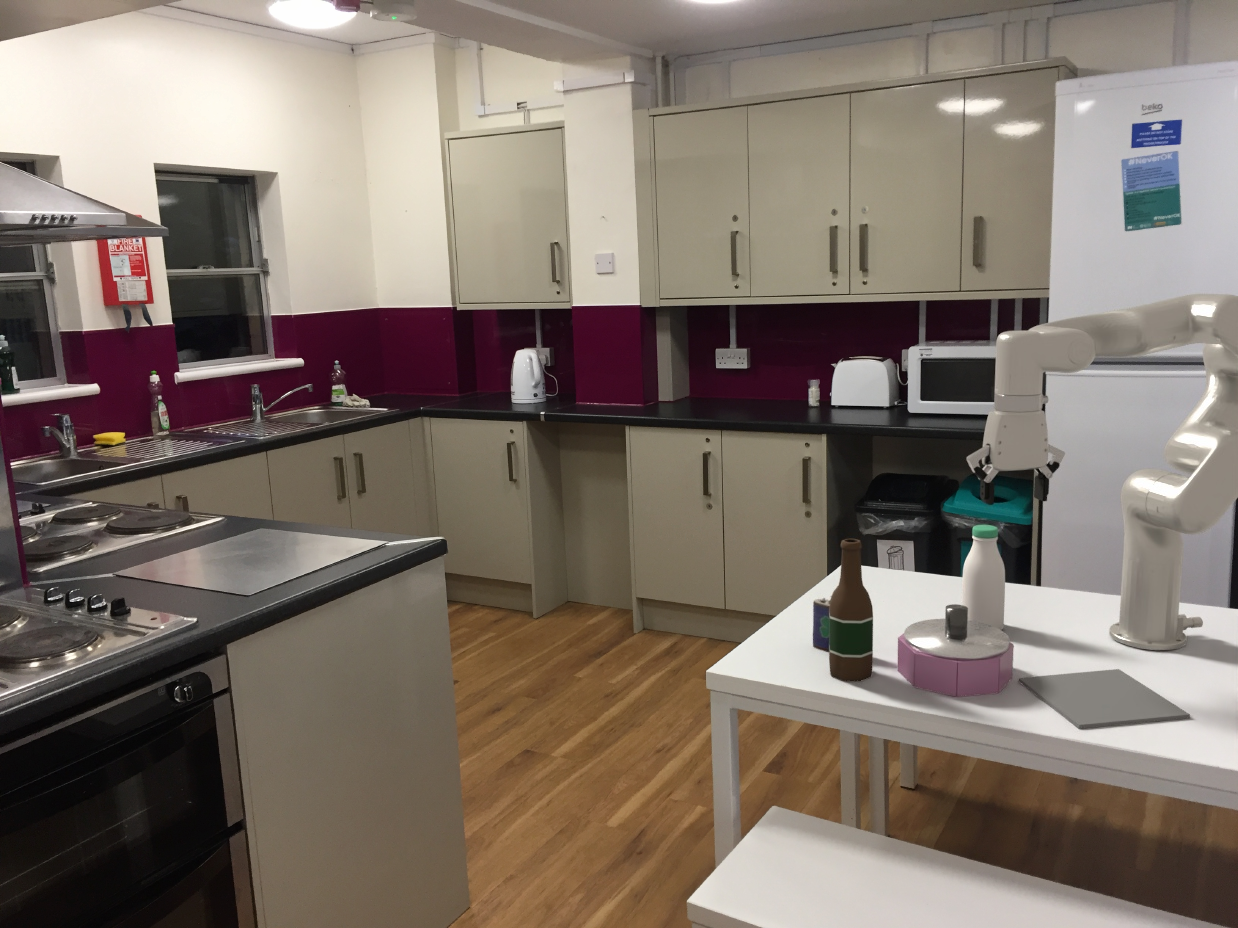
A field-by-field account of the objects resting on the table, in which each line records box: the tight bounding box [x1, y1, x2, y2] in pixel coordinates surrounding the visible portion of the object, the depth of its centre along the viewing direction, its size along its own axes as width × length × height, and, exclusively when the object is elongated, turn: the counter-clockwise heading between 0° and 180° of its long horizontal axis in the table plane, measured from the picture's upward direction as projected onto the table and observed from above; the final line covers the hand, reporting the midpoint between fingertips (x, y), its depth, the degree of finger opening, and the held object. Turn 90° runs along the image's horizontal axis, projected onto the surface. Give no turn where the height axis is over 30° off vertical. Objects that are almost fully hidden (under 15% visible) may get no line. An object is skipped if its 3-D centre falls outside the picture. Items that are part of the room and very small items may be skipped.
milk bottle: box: [961, 524, 1006, 631], centre depth 193 cm, size 8×8×20 cm
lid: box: [904, 604, 1010, 661], centre depth 172 cm, size 17×17×6 cm
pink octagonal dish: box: [897, 633, 1015, 698], centre depth 173 cm, size 17×17×6 cm
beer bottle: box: [828, 538, 874, 683], centre depth 173 cm, size 8×8×24 cm
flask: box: [812, 594, 832, 653], centre depth 185 cm, size 9×3×11 cm, turn 50°
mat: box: [1017, 668, 1191, 730], centre depth 162 cm, size 18×18×1 cm
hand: (1014, 501), depth 175 cm, fingers open, 9 cm apart
